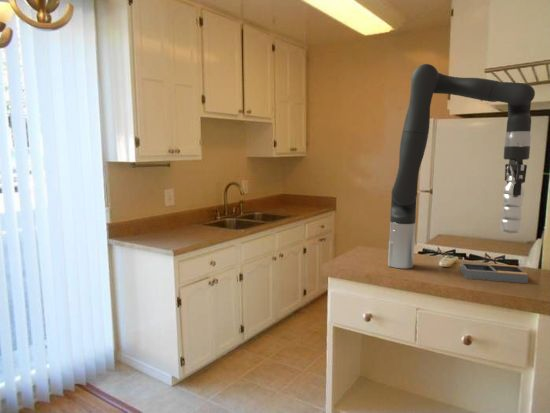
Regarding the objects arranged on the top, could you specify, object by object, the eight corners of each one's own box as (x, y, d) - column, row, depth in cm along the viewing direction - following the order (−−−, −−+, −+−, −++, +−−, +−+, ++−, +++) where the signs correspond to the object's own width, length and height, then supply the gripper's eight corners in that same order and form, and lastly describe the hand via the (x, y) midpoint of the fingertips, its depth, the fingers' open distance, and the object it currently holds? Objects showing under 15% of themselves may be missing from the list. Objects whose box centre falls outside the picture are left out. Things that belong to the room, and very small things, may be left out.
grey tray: (466, 278, 138) (467, 269, 138) (460, 270, 148) (460, 262, 148) (527, 283, 134) (528, 273, 133) (516, 274, 144) (517, 265, 143)
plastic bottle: (524, 235, 134) (529, 176, 132) (502, 234, 136) (507, 176, 133) (517, 231, 140) (521, 175, 138) (496, 230, 142) (500, 175, 139)
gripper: (498, 146, 142) (495, 192, 144) (511, 144, 128) (507, 196, 130) (521, 146, 140) (518, 193, 142) (538, 144, 127) (533, 196, 129)
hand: (513, 194), depth 136 cm, fingers closed on plastic bottle, 6 cm apart
